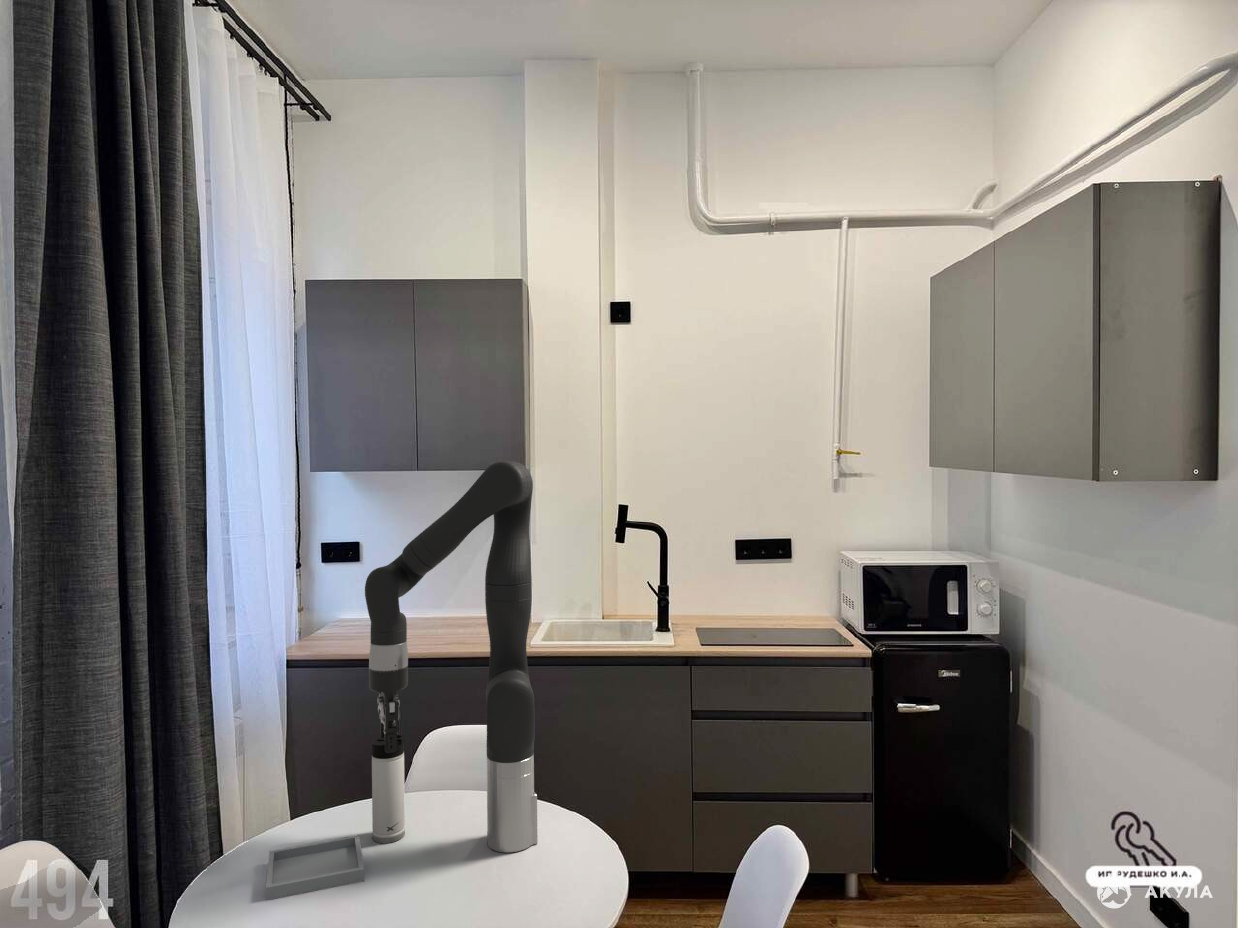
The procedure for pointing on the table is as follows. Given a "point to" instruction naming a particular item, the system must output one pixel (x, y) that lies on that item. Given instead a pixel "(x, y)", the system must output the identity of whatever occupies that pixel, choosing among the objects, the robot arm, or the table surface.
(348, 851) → the tray
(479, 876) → the table surface
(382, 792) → the travel mug
